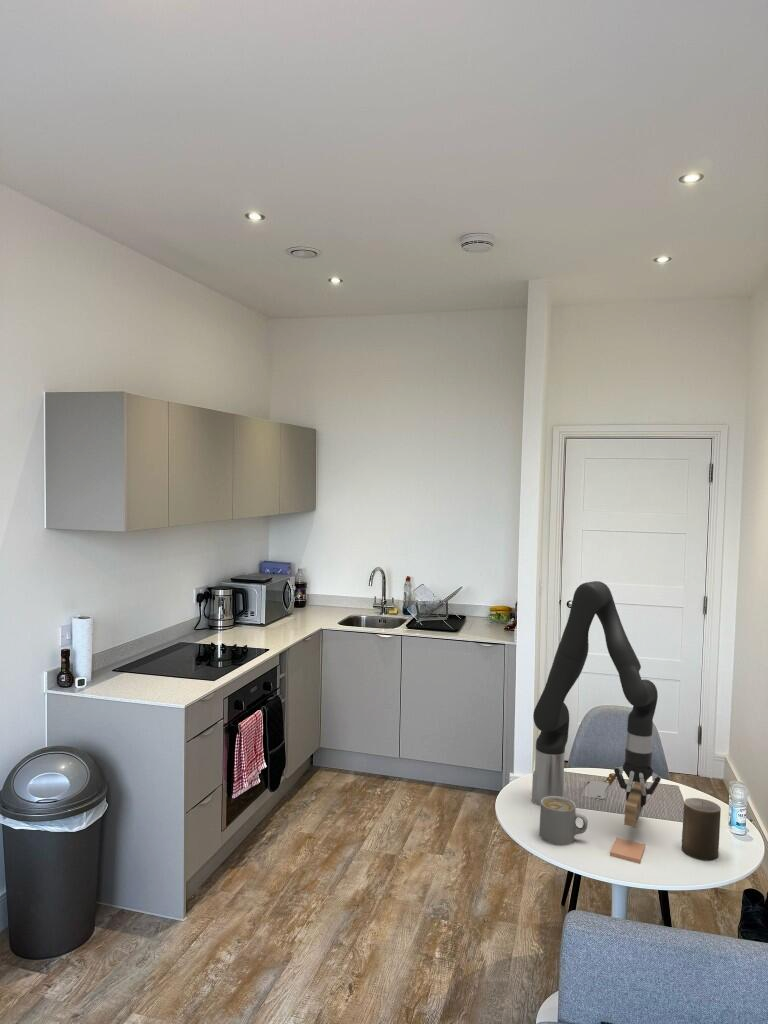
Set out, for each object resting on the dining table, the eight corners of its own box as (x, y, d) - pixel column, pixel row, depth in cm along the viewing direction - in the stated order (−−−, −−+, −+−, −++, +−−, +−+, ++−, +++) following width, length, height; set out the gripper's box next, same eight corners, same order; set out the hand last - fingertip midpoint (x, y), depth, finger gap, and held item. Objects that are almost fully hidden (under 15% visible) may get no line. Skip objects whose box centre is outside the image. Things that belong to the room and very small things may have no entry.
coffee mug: (534, 838, 209) (536, 805, 208) (545, 825, 217) (547, 793, 217) (580, 852, 202) (582, 817, 201) (590, 838, 210) (591, 804, 210)
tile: (616, 842, 209) (609, 857, 200) (616, 837, 209) (610, 851, 200) (645, 849, 206) (639, 865, 197) (645, 844, 206) (640, 859, 197)
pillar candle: (711, 864, 198) (714, 811, 197) (675, 851, 204) (678, 799, 204) (723, 852, 205) (726, 800, 204) (688, 840, 211) (691, 789, 211)
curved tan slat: (635, 827, 204) (636, 806, 204) (624, 824, 205) (625, 804, 205) (645, 798, 223) (646, 779, 223) (635, 796, 225) (636, 777, 224)
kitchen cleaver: (594, 769, 261) (622, 774, 255) (594, 772, 261) (622, 777, 255) (574, 793, 240) (604, 800, 235) (574, 796, 240) (604, 803, 235)
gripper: (612, 746, 213) (609, 803, 214) (662, 756, 207) (659, 815, 208) (616, 739, 220) (613, 794, 221) (665, 748, 214) (662, 805, 214)
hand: (635, 804), depth 214 cm, fingers closed on curved tan slat, 3 cm apart
